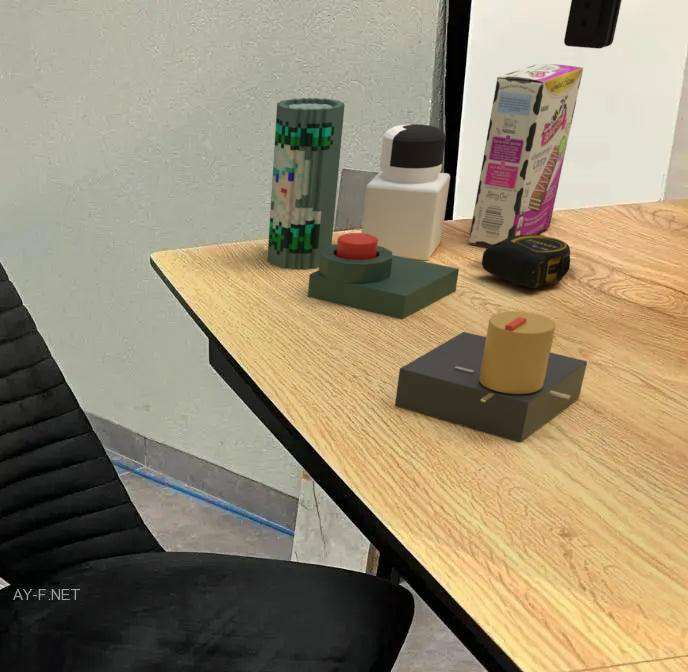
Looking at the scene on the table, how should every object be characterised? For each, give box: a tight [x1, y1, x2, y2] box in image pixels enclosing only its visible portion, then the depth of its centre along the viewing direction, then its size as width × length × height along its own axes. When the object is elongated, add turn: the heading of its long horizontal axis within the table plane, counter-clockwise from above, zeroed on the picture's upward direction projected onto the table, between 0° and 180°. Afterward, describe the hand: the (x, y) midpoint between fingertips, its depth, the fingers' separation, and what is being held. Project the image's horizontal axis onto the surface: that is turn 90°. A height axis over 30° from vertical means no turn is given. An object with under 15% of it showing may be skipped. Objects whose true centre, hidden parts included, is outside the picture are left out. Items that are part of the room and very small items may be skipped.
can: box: [267, 97, 345, 271], centre depth 113 cm, size 6×6×15 cm
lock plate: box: [394, 331, 588, 443], centre depth 84 cm, size 12×12×3 cm
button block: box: [307, 243, 460, 320], centre depth 107 cm, size 10×10×4 cm
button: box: [336, 232, 378, 260], centre depth 105 cm, size 4×4×2 cm
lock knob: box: [479, 310, 557, 394], centre depth 80 cm, size 4×4×5 cm
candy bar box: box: [467, 63, 584, 248], centre depth 118 cm, size 11×5×16 cm, turn 141°
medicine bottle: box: [361, 123, 451, 262], centre depth 116 cm, size 7×7×12 cm
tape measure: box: [481, 234, 571, 289], centre depth 109 cm, size 7×7×4 cm
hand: (587, 45), depth 89 cm, fingers closed
